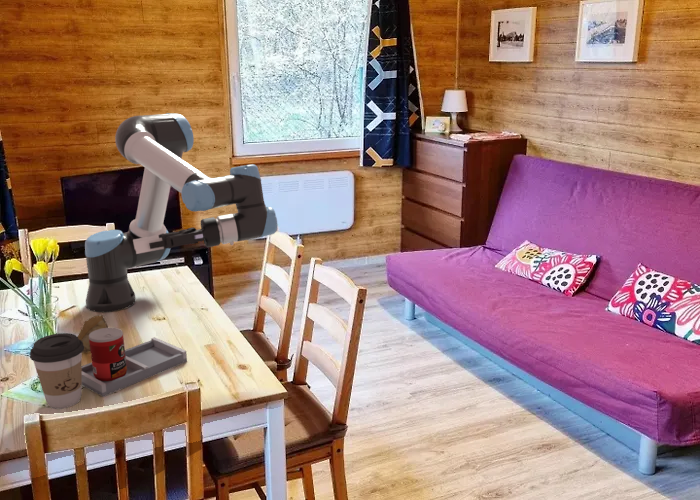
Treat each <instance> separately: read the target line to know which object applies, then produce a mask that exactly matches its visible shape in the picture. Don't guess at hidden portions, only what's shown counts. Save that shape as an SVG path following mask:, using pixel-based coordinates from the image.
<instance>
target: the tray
mask: <svg viewBox="0 0 700 500" xmlns="http://www.w3.org/2000/svg"><path fill="white" fill-rule="evenodd" d="M125 356H126V366H127V371H126V374H125V375H124V376H123V377H120V378H118V379H115V380H113V381H100V380H98V379H96V378H95V376H94V373H93V366H92V362H90V363H87V364H84V365H82V387H85V388H87V389H88V390H90V391H92V392H93V393H96V394H97V395H99V396H100V397H102V398H103V397H106V396H108V395H111V394H113V393H115V392H118V391H120V390H123V389H125V388H128V387H129V386H132V385H134V384H137V383H139V382H142V381H144V380H147V379H150V378H151V377H153V376H156V375H159V374H160V373H163V372H165V371H168V370H170V369H173V368H175V367H177V366H180V365H182V364H185V363H186V362H188V359H187V357H188V355H187V350H185V349H183V348H181V347H178V346H176V345H173V344H171V343H168V342H167V341H163V340H162V339H160V338H157V337H152V338H150V340H148V341H145V342H143V343H141V344H138V345H135V346H132V347H128V348H125Z"/></svg>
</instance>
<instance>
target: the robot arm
mask: <svg viewBox="0 0 700 500" xmlns="http://www.w3.org/2000/svg"><path fill="white" fill-rule="evenodd" d="M114 138H115V139H114V140H115V145H116V149H117V150H118V152H119V153H120V155H121V157H123V158H124V159H126V160H127V161H128V162H130V163H132V164H134V165H141V166H142V167H144V169H143V170H144V171H143V176H142V181H141V186H140V187H141V188H140V193H139V198H138V204H137V210H136V215H135V219H133V220H131V222H130V224H129V227H128V231H127V232H123V231H122V230H120V229H110V230H109V229H108V230H103V231H99V232H96V233H93V234H91V235H89V236H88V237H87V238H86V239H85V241H84V249H85V250H84V255H85V260H86V267H87V275H88V282H89V283H88V288H87V291H86V292H87V293H86V298H85V307H86V309H87V310H88V311H92V312H98V313H109V312H116V311H121V310H125V309H128V308H130V307H131V306H133V305H134V304H135V303H136V302H137V300H136V298H137V297H136V294H135V291H134V289H133V287H132V285H131V282H130V281H129V279H128V269H132V268H137V267H140V266H145V265H149V264H155V263H158V262H159V261H162V260H164V259H166V258H167V257H168V256H169V254H170V251H171V249H172V248H177V247H181V246H186V245H193V244H198V242H203V243H204V246H205V247H207V248H212V247H217V246H220V245H221V244H222V245H226V244H227V245H228V244H229V245H230V246H233V245H234V242H235V243H237V242H243V241H248V240H254V239H259V238H260V239H261V238H263V237H267V236H272V235H275V233H277V230H278V218H277V215H276V211H275V209H274V208H273V207H272V206H269V207H268V206H266V204H265V197H264V192H263V186H262V184H263V183H262V179H261V175H260V171H259V170H260V169H259V167H258V166H257V165H256V164H246V165H240V166H234V167H231V168H230V170H229V175H224V176H219V177H217V176H216V177H209V176H208V174H205V173H204V172H202V171H200V170H199V169H197V168H195V167H194V166H193V165H192V164H190V163H189V162H187V161H185V159H183V154H184V153H188V152H189V151H191V150H192V148H193V147H194V146H193V145H194V140H195V139H194V132H193V129H192V126H191V124H190V122H189V121H188V119H187V118H186V117H185V116H184V115H182V114H180V113H170V112H166V113H162V114H161V113H160V114H147V115H146V114H145V115H133V116H131V117H129V118H126V119H125V120H124V121H122V122H121V123H120V125H119V126H118V127H117V129H116V132H115V135H114ZM171 188H173V189H175V191H177V192H178V193H180V194H181V199H182V203H183V204H185V207H186V209H187V210H188V211H190V212H205V211H208V210H209V211H210V210H212V209H217V208H223V207H227V206H233V205H235V207H236V210H237V212H235V213H234V212H233V213H229V214H223V215H218V216H216V218H215V217H208V218H207V217H206V218H202V219H201V220H200V227H201V228H199V229H197V228H196V227H188V228H187V229H181V230H179V231H173V232H169V231H168V229H167V228H166V226H165V224H164V220H165V217H166V211H167V206H168V202H169V197H170V196H169V195H170V191H171Z"/></svg>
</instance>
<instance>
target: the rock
mask: <svg viewBox="0 0 700 500" xmlns="http://www.w3.org/2000/svg"><path fill="white" fill-rule="evenodd" d="M102 328H109V325H108V324H107V321H106V319H105V317H104V315H102V314H101V315H93V316H91V318H89V319H87V320H85V321H84V322H83V325H82V327H81V329H80V331H79V333H78V335H76V336H77V337H78V339H79V340H81V341H82V342H83V346H84V350H83V351H82V354H86V353H89V352H90V353H91V351H90V344H89V334H90V333H91V332H93V331H95V330H98V329H102Z"/></svg>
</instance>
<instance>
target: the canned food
mask: <svg viewBox="0 0 700 500" xmlns="http://www.w3.org/2000/svg"><path fill="white" fill-rule="evenodd" d="M124 340H125V339H124V333H123V330H122V329H121V328H117V327H108V328H102V329H98V330H95V331H93V332H91V333H90V334H89V344H90V358H91V363H92V366H93V373H94V376H95V378H96V379H98V380H100V381H113V380H115V379H118V378H120V377H123V376H124V375H125V374H126V371H127V366H126V356H125V350H126V347H125V341H124Z"/></svg>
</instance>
